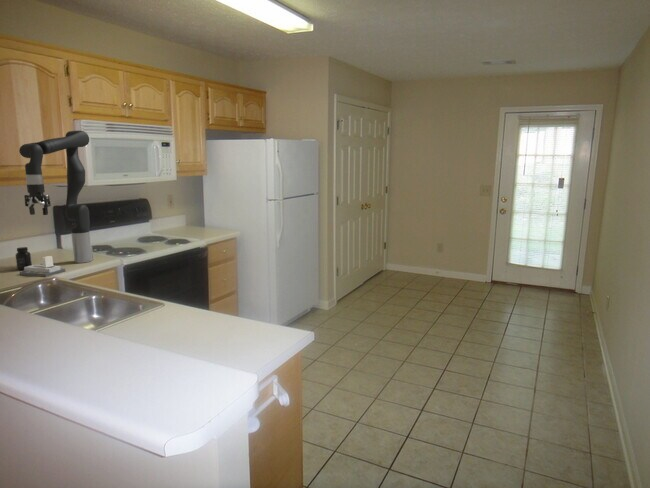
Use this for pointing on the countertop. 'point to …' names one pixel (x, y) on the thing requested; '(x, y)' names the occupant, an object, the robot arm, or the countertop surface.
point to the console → (41, 270)
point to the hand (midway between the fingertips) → (39, 214)
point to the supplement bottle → (23, 258)
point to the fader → (47, 262)
